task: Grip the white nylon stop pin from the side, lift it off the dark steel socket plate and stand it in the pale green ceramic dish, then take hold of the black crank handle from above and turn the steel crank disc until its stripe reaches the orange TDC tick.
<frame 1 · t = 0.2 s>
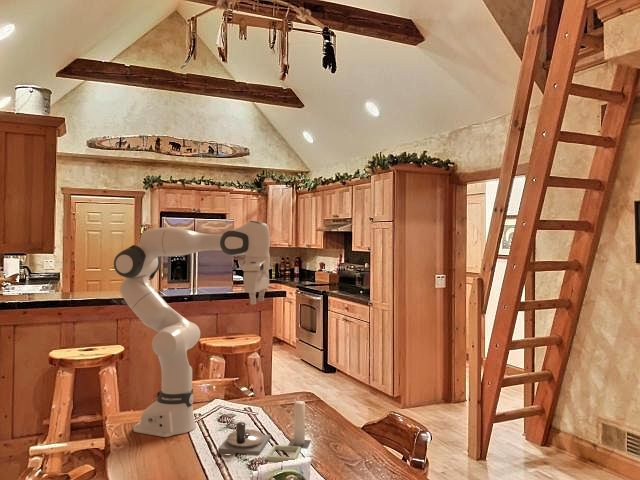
hand: (257, 302, 182), 48 cm above the table, tool pointing down, fingers open, 8 cm apart
stop pin: (299, 443, 170), point 1 cm above the table, touching socket plate
socket plate: (299, 446, 170), on the table
crank: (245, 429, 168), point 6 cm above the table, hinge at 0.0°
crank base: (245, 447, 168), on the table
tray: (284, 458, 160), on the table
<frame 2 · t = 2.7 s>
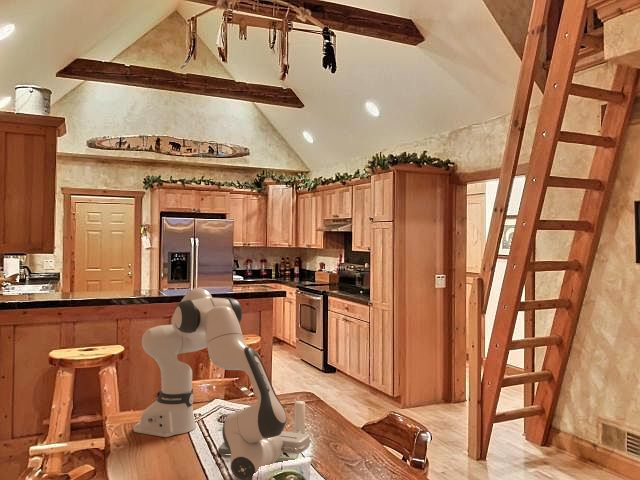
hand: (286, 430, 158), 10 cm above the table, tool horizontal, fingers open, 8 cm apart
nothing on the table moved.
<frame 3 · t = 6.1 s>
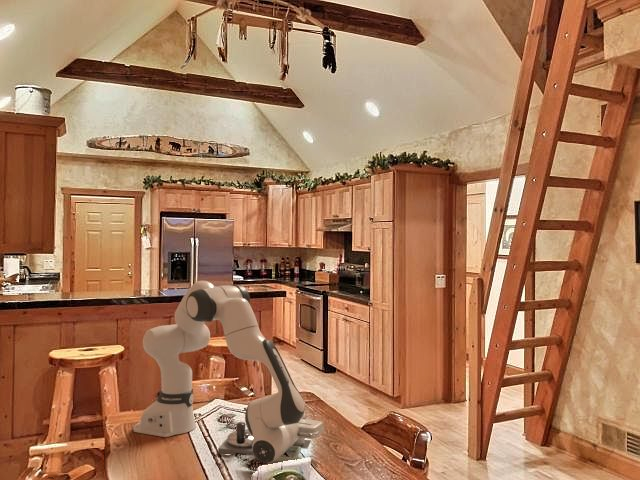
hand: (300, 418, 170), 9 cm above the table, tool horizontal, fingers closed on stop pin, 4 cm apart
stop pin: (299, 443, 170), point 1 cm above the table, touching gripper, socket plate
everything else where it was.
when the fingers open (11 cm above the table, at t = 10.0 s): stop pin drops 1 cm, resting on tray.
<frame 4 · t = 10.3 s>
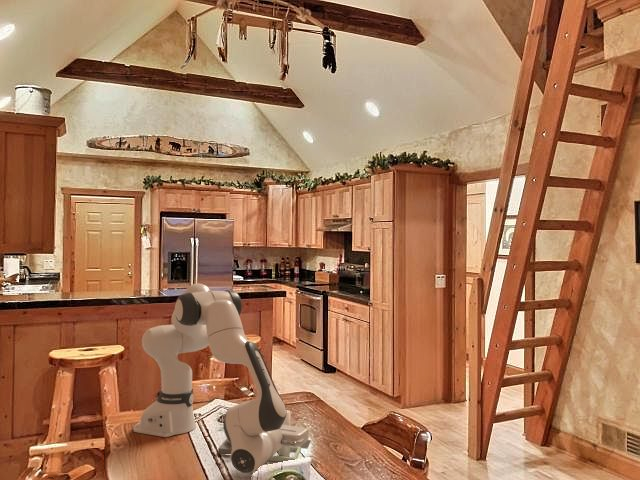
hand: (285, 424, 161), 11 cm above the table, tool horizontal, fingers open, 6 cm apart
stop pin: (284, 455, 160), point 1 cm above the table, touching tray
everything else where it was.
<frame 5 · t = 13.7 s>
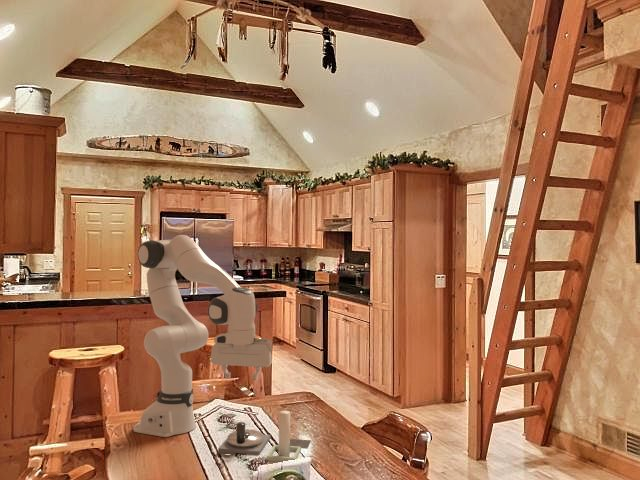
hand: (241, 378, 164), 25 cm above the table, tool pointing down, fingers open, 8 cm apart
nothing on the table moved.
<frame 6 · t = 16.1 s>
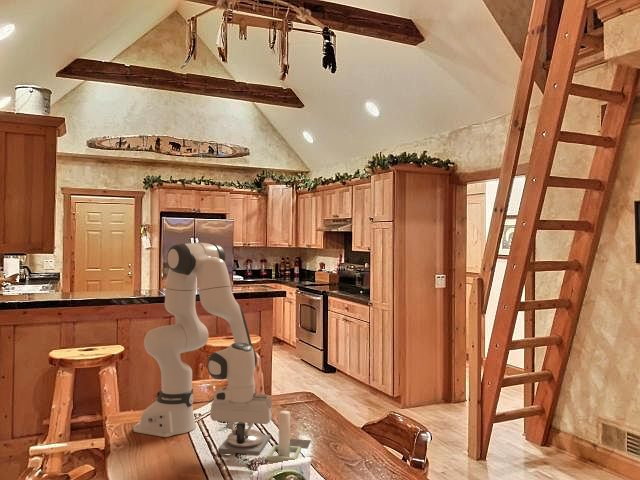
hand: (240, 434, 164), 6 cm above the table, tool pointing down, fingers closed on crank, 3 cm apart
crank: (245, 429, 168), point 6 cm above the table, hinge at 0.0°, touching gripper
everything else where it was.
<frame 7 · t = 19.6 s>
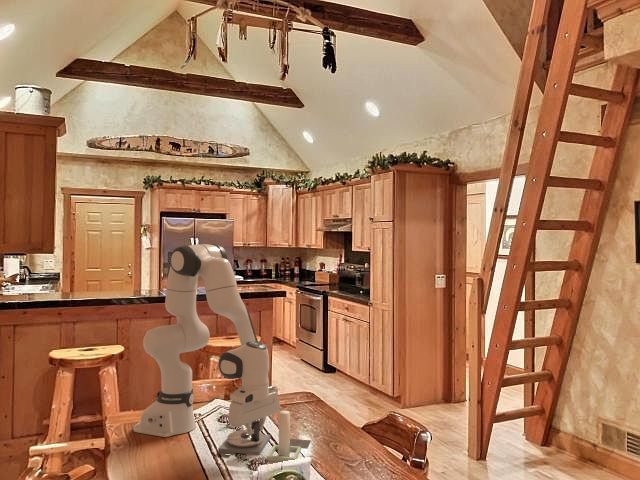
hand: (255, 432, 165), 6 cm above the table, tool pointing down, fingers closed on crank, 3 cm apart
crank: (245, 429, 168), point 6 cm above the table, hinge at 58.0°, touching gripper
everything else where it was.
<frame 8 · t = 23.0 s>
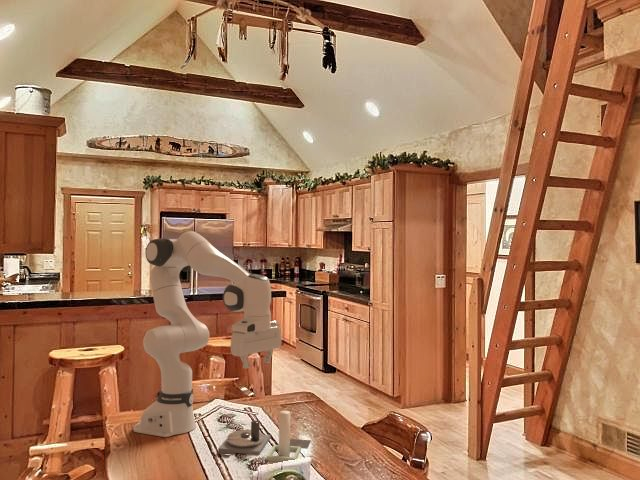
hand: (257, 365, 164), 29 cm above the table, tool pointing down, fingers open, 8 cm apart
crank: (245, 429, 168), point 6 cm above the table, hinge at 58.2°
everything else where it was.
at the end: stop pin 0.0 cm off-centre on the tray, point 0.8 cm above the tray's base; stop pin tilted 0°; crank at +58° (first picture: +0°) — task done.
